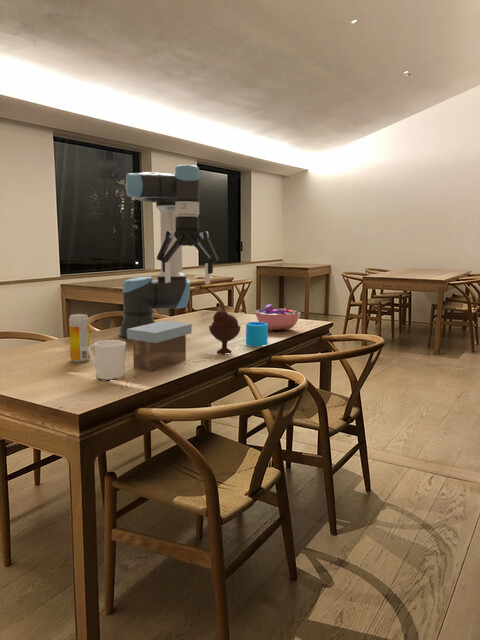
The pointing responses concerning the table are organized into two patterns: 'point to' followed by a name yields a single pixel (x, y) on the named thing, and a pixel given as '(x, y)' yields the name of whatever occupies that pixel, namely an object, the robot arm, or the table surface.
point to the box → (159, 353)
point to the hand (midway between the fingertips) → (187, 283)
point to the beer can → (79, 337)
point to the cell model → (277, 318)
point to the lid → (159, 331)
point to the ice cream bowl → (224, 329)
